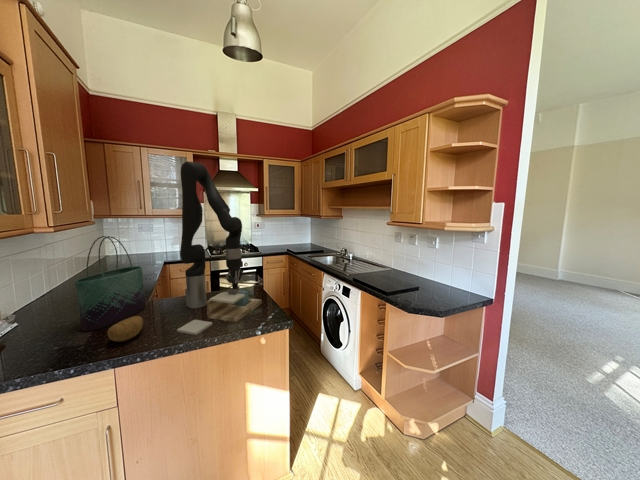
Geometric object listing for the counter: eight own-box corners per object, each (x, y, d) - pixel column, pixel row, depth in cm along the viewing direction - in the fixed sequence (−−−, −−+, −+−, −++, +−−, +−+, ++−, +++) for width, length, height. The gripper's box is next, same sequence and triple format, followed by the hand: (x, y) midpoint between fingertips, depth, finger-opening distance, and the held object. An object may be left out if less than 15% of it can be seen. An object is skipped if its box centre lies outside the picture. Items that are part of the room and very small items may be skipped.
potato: (152, 330, 111) (150, 312, 110) (124, 348, 97) (122, 328, 96) (131, 329, 112) (129, 312, 111) (101, 346, 98) (98, 327, 97)
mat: (177, 331, 110) (177, 329, 110) (194, 321, 119) (194, 319, 119) (196, 335, 107) (195, 332, 107) (212, 324, 116) (212, 322, 116)
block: (235, 307, 135) (234, 293, 134) (240, 304, 140) (240, 290, 139) (243, 308, 134) (242, 294, 133) (248, 305, 138) (248, 291, 137)
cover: (209, 300, 122) (209, 293, 121) (223, 293, 131) (222, 287, 131) (232, 303, 118) (232, 296, 118) (245, 296, 128) (244, 289, 127)
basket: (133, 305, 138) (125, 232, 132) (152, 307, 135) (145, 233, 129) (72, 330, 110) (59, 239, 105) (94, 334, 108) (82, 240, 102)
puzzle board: (207, 317, 123) (206, 301, 122) (237, 300, 146) (236, 285, 145) (235, 322, 118) (235, 305, 117) (261, 303, 141) (261, 288, 140)
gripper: (235, 253, 135) (236, 285, 138) (218, 259, 123) (220, 293, 125) (247, 254, 133) (248, 286, 136) (232, 260, 121) (233, 295, 123)
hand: (235, 289), depth 130 cm, fingers closed
